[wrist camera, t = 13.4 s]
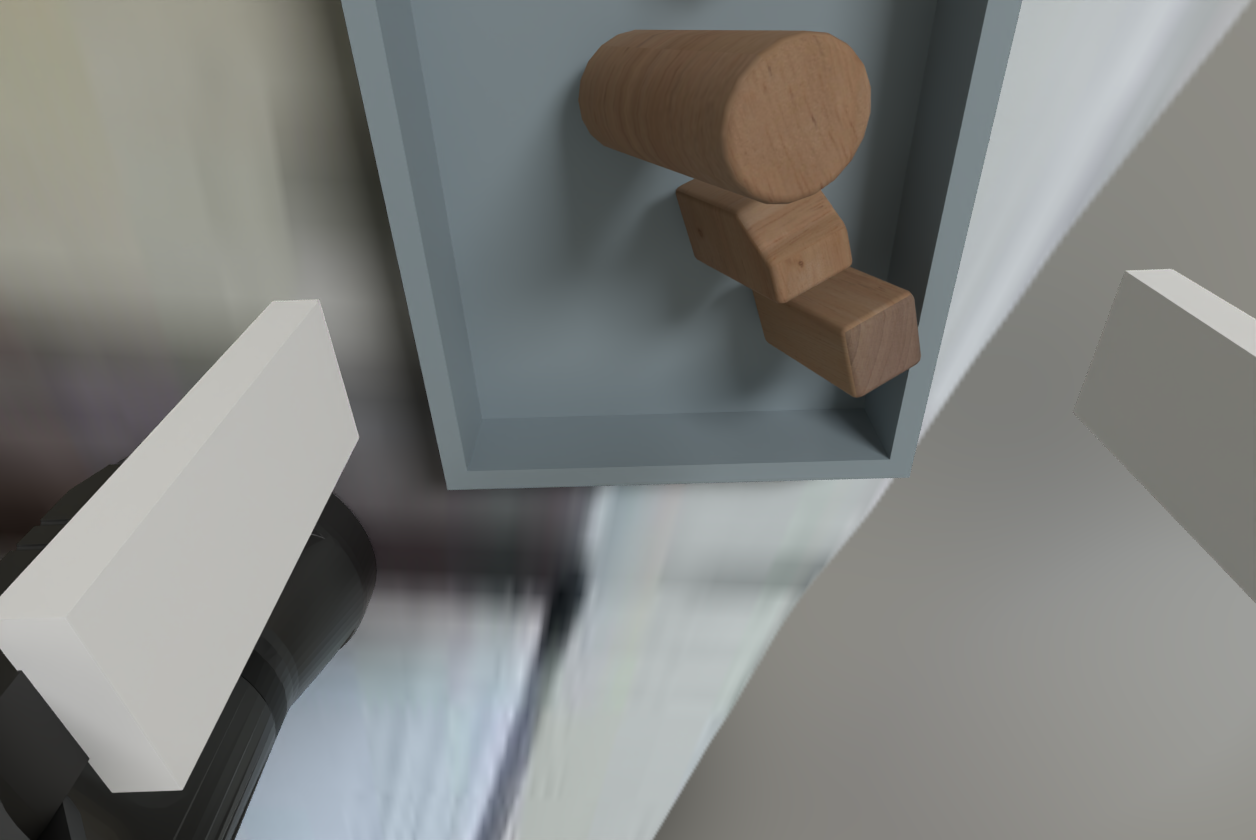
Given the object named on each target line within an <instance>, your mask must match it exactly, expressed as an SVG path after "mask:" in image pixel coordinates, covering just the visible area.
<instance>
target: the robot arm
mask: <svg viewBox="0 0 1256 840" xmlns="http://www.w3.org/2000/svg"><path fill="white" fill-rule="evenodd" d="M1073 413H1074V414H1075V415H1076V416H1077V417H1078V418H1079V420H1081V422H1082V423H1083V424H1084V425H1085V426H1086V427H1087V428H1088V429H1089V430H1090V431H1091V432H1092V433H1093V434H1094V435H1095V436H1096V437H1097V438H1098V439H1099V440H1100V441H1101V442H1102V443H1103V445H1104V446H1105V447H1106V448H1107V449H1108V450H1109V451H1110V452H1111V453H1112V454H1113V455H1114V456H1115V457H1116V458H1117V459H1118V460H1119V461H1120V462H1121V463H1122V464H1123V465H1124V466H1125V467H1126V468H1127V470H1128V471H1129V472H1130V473H1131V474H1132V475H1133V476H1134V477H1135V478H1136V479H1137V480H1138V481H1139V482H1140V483H1141V484H1142V485H1143V486H1144V487H1145V488H1146V489H1147V490H1148V491H1149V492H1150V493H1151V494H1152V495H1153V497H1154V498H1155V499H1156V500H1157V501H1158V502H1159V503H1160V504H1161V505H1162V506H1163V507H1164V508H1165V509H1166V510H1167V511H1168V512H1169V513H1170V514H1171V515H1172V516H1173V517H1174V518H1175V519H1176V521H1177V522H1178V523H1179V524H1180V525H1181V526H1182V527H1183V528H1184V529H1185V530H1186V531H1187V532H1188V533H1189V534H1190V535H1191V536H1192V537H1193V538H1194V539H1195V540H1196V541H1197V542H1198V543H1199V545H1200V546H1201V547H1202V548H1203V549H1204V550H1205V551H1206V552H1207V553H1208V554H1209V555H1210V556H1211V557H1212V558H1213V559H1214V560H1215V561H1216V562H1217V563H1218V564H1219V565H1220V566H1221V567H1222V568H1223V569H1224V571H1225V572H1226V573H1227V574H1228V575H1229V576H1230V577H1231V578H1232V579H1233V580H1234V581H1235V582H1236V583H1237V584H1238V585H1239V586H1240V587H1241V588H1242V589H1243V590H1244V591H1245V592H1246V593H1247V594H1248V596H1249V597H1251V599H1252V600H1253V601H1254V602H1255V603H1256V319H1255V318H1253V317H1251V316H1250V315H1248V314H1246V313H1244V312H1243V311H1241V310H1240V309H1238V308H1236V307H1235V306H1233V305H1231V304H1230V303H1228V302H1226V301H1225V300H1223V299H1221V298H1220V297H1218V296H1216V295H1215V294H1213V293H1211V292H1210V291H1208V290H1206V289H1205V288H1203V287H1201V286H1200V285H1198V284H1196V283H1195V282H1193V281H1191V280H1190V279H1188V278H1186V277H1184V276H1183V275H1181V274H1179V273H1178V272H1176V271H1175V270H1173V269H1159V270H1131V271H1125V272H1124V275H1123V278H1122V280H1121V283H1120V286H1119V289H1118V291H1117V294H1116V296H1115V299H1114V302H1113V305H1112V307H1111V310H1110V313H1109V315H1108V318H1107V321H1106V324H1105V326H1104V329H1103V332H1102V334H1101V337H1100V340H1099V343H1098V345H1097V348H1096V351H1095V353H1094V356H1093V359H1092V361H1091V364H1090V367H1089V370H1088V372H1087V375H1086V378H1085V381H1084V383H1083V386H1082V389H1081V391H1080V394H1079V397H1078V399H1077V402H1076V405H1075V408H1074V410H1073ZM358 439H359V435H358V431H357V428H356V425H355V421H354V418H353V414H352V411H351V407H350V404H349V400H348V397H347V393H346V390H345V386H344V383H343V379H342V376H341V372H340V369H339V366H338V362H337V359H336V355H335V352H334V348H333V345H332V341H331V338H330V334H329V331H328V327H327V324H326V320H325V317H324V314H323V310H322V307H321V303H320V300H319V299H315V300H287V301H272V302H271V303H270V304H269V305H268V306H267V308H266V309H265V310H264V311H263V312H262V313H261V314H260V315H259V316H258V317H257V318H256V319H255V321H254V322H253V323H252V324H251V325H250V326H249V327H248V328H247V329H246V330H245V331H244V332H243V334H242V335H241V336H240V337H239V338H238V339H237V340H236V341H235V342H234V343H233V344H232V345H231V347H230V348H229V349H228V350H227V351H226V352H225V353H224V354H223V355H222V356H221V357H220V358H219V360H218V361H217V362H216V363H215V364H214V365H213V366H212V367H211V368H210V369H209V370H208V372H207V373H206V374H205V375H204V376H203V377H202V378H201V379H200V380H199V381H198V382H197V383H196V385H195V386H194V387H193V388H192V389H191V390H190V391H189V392H188V393H187V394H186V395H185V396H184V398H183V399H182V400H181V401H180V402H179V403H178V404H177V405H176V406H175V407H174V408H173V409H172V411H171V412H170V413H169V414H168V415H167V416H166V417H165V418H164V419H163V420H162V421H161V422H160V424H159V425H158V426H157V427H156V428H155V429H154V430H153V431H152V432H151V433H150V434H149V435H148V437H147V438H146V439H145V440H144V441H143V442H142V443H141V444H140V445H139V446H138V447H137V449H136V450H135V451H134V452H133V453H132V454H131V455H130V456H128V457H126V458H125V459H123V460H121V461H120V462H118V463H117V464H115V465H108V466H107V467H105V468H104V469H102V470H100V471H99V472H97V473H96V474H94V475H93V476H91V477H89V478H88V479H86V480H85V481H83V482H82V483H80V484H79V485H77V486H75V487H74V488H72V489H71V490H69V491H68V492H67V493H66V494H65V495H64V496H63V497H62V498H61V499H60V500H59V501H58V502H57V503H56V504H55V506H54V507H53V508H52V509H51V510H50V511H49V512H48V513H47V514H46V515H45V516H44V517H43V518H42V519H41V520H40V521H41V525H40V526H34V527H33V528H32V529H31V530H30V531H29V532H28V533H27V534H26V535H25V536H24V537H23V538H22V539H21V540H20V541H19V542H18V544H17V545H16V546H17V550H16V551H10V552H9V553H8V554H7V555H6V556H5V557H4V558H3V559H2V560H1V561H0V840H235V838H236V835H237V833H238V830H239V828H240V826H241V823H242V821H243V818H244V816H245V813H246V811H247V808H248V806H249V803H250V801H251V799H252V796H253V794H254V791H255V789H256V786H257V784H258V781H259V779H260V777H261V774H262V772H263V769H264V767H265V764H266V762H267V759H268V757H269V754H270V752H271V750H272V747H273V744H274V742H275V739H276V737H277V735H278V732H279V730H280V728H281V725H282V723H283V721H284V719H285V716H286V714H287V712H288V710H289V708H290V707H291V705H292V704H293V703H294V702H295V701H296V700H297V699H298V697H299V696H300V695H301V694H302V693H303V692H304V691H305V689H306V688H307V687H308V686H309V685H310V684H311V683H312V681H313V680H314V679H315V678H316V677H317V676H318V674H319V673H320V672H321V671H322V670H323V668H324V667H325V666H326V665H327V664H328V662H329V661H330V660H331V659H332V657H333V656H334V655H335V654H336V653H337V651H338V650H339V649H340V648H342V647H343V646H344V645H345V644H346V643H347V642H348V641H349V640H350V639H351V637H352V636H353V635H354V633H355V632H356V630H357V628H358V627H359V625H360V623H361V621H362V619H363V616H364V614H365V611H366V608H367V606H368V603H369V601H370V598H371V595H372V593H373V590H374V586H375V581H376V561H375V556H374V552H373V549H372V546H371V543H370V541H369V539H368V536H367V534H366V533H365V531H364V529H363V527H362V526H361V524H360V523H359V521H358V520H357V519H356V517H355V516H354V515H353V514H352V512H351V511H350V510H349V509H348V508H347V507H346V506H345V505H344V504H343V503H342V502H341V501H340V500H339V499H338V498H337V497H336V496H335V495H334V494H332V491H333V489H334V487H335V485H336V483H337V481H338V479H339V477H340V475H341V473H342V471H343V469H344V467H345V465H346V463H347V461H348V459H349V457H350V455H351V453H352V451H353V449H354V447H355V445H356V443H357V441H358Z"/></svg>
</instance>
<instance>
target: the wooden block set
mask: <svg viewBox="0 0 1256 840" xmlns="http://www.w3.org/2000/svg"><path fill="white" fill-rule="evenodd" d="M578 102H579V107H580V112H581V117H582V120H583V122H584V124H585V125H586V127H587V129H588V131H589V133H590V134H591V135H592V136H593V137H594V138H595V139H596V140H597V141H599V142H600V143H601V144H602V145H603V146H606V147H608V148H611V149H614V150H616V151H619V152H622V153H625V154H627V155H630V156H633V157H636V158H638V159H641V160H644V161H647V162H650V163H652V164H655V165H658V166H661V167H664V168H666V169H669V170H672V171H675V172H678V173H680V174H683V175H686V176H689V177H691V178H694V179H693V180H691V181H689V182H687V183H685V184H683V185H681V186H679V187H678V188H677V189H676V197H677V200H678V204H679V207H680V210H681V214H682V217H683V220H684V223H685V227H686V230H687V233H688V236H689V240H690V243H691V246H692V249H693V253H694V256H695V257H696V259H697V260H699V261H701V262H702V263H704V264H706V265H708V266H710V267H712V268H713V269H715V270H717V271H719V272H721V273H723V274H724V275H726V276H728V277H730V278H732V279H734V280H735V281H737V282H739V283H741V284H743V285H745V286H746V287H748V288H750V289H752V291H753V295H754V299H755V303H756V307H757V310H758V314H759V318H760V322H761V326H762V329H763V333H764V337H765V340H766V341H767V342H768V343H769V344H771V345H772V346H774V347H775V348H777V349H779V350H780V351H782V352H783V353H785V354H786V355H788V356H790V357H791V358H793V359H794V360H796V361H797V362H799V363H801V364H802V365H804V366H805V367H807V368H808V369H810V370H812V371H813V372H815V373H816V374H818V375H819V376H821V377H823V378H824V379H826V380H827V381H829V382H830V383H832V384H834V385H835V386H837V387H838V388H840V389H841V390H843V391H844V392H846V393H848V394H849V395H851V396H852V397H856V398H858V397H862V396H864V395H866V394H867V393H869V392H871V391H872V390H874V389H876V388H877V387H879V386H881V385H882V384H884V383H886V382H888V381H889V380H891V379H893V378H894V377H896V376H898V375H899V374H901V373H903V372H904V371H906V370H908V369H910V368H911V367H913V366H915V365H916V364H917V363H918V362H919V361H920V358H921V351H920V343H919V334H918V326H917V317H916V309H915V300H914V297H913V295H912V294H911V293H910V292H909V291H908V290H905V289H903V288H900V287H898V286H895V285H893V284H891V283H888V282H886V281H883V280H881V279H879V278H876V277H874V276H871V275H869V274H867V273H864V272H862V271H859V270H857V269H854V268H852V267H850V266H851V265H852V256H851V250H850V244H849V238H848V232H847V229H846V226H845V224H844V222H843V221H842V219H841V218H840V217H839V215H838V214H837V212H836V211H835V209H834V208H833V207H832V205H831V204H830V202H829V201H828V199H827V198H826V197H825V195H824V194H823V192H822V191H821V189H823V188H824V187H826V186H827V185H828V184H830V183H831V182H833V181H834V180H835V179H836V178H837V177H838V176H839V174H840V173H841V172H842V171H843V170H844V169H845V167H846V166H847V165H848V164H849V163H850V162H851V160H852V159H853V157H854V155H855V153H856V151H857V149H858V147H859V145H860V144H861V142H862V140H863V138H864V135H865V131H866V127H867V124H868V120H869V116H870V112H871V86H870V83H869V79H868V76H867V73H866V69H865V66H864V64H863V63H862V61H861V60H860V59H859V57H858V56H857V55H856V53H855V52H854V51H853V49H852V48H851V47H850V46H849V45H848V44H847V43H845V42H844V41H842V40H840V39H838V38H836V37H835V36H833V35H831V34H829V33H826V32H815V31H789V30H632V31H629V32H625V33H621V34H618V35H616V36H615V37H613V38H612V39H610V40H609V41H607V42H606V43H604V44H603V45H601V46H600V48H599V49H598V50H597V51H596V52H595V54H594V55H593V56H592V57H591V59H590V60H589V61H588V63H587V66H586V68H585V70H584V73H583V75H582V78H581V80H580V89H579V98H578Z"/></svg>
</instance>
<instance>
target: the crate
mask: <svg viewBox="0 0 1256 840" xmlns="http://www.w3.org/2000/svg"><path fill="white" fill-rule="evenodd" d="M341 3H342V8H343V12H344V17H345V21H346V26H347V31H348V35H349V40H350V44H351V49H352V53H353V58H354V63H355V67H356V72H357V76H358V81H359V86H360V90H361V95H362V99H363V104H364V109H365V113H366V118H367V122H368V127H369V132H370V136H371V141H372V145H373V150H374V154H375V159H376V164H377V168H378V173H379V177H380V182H381V187H382V191H383V196H384V200H385V205H386V210H387V214H388V219H389V223H390V228H391V232H392V237H393V242H394V246H395V251H396V255H397V260H398V265H399V269H400V274H401V278H402V283H403V288H404V292H405V297H406V301H407V306H408V310H409V315H410V320H411V324H412V329H413V333H414V338H415V343H416V347H417V352H418V356H419V361H420V366H421V370H422V375H423V379H424V384H425V388H426V393H427V398H428V402H429V407H430V411H431V416H432V421H433V425H434V430H435V434H436V439H437V444H438V448H439V453H440V457H441V462H442V466H443V471H444V476H445V480H446V485H447V489H448V490H468V489H504V488H541V487H577V486H614V485H650V484H687V483H724V482H760V481H797V480H833V479H870V478H905V477H909V476H910V472H911V467H912V463H913V459H914V455H915V451H916V447H917V442H918V438H919V434H920V430H921V426H922V421H923V417H924V413H925V409H926V404H927V400H928V396H929V392H930V388H931V383H932V379H933V375H934V371H935V366H936V362H937V358H938V354H939V350H940V345H941V341H942V337H943V333H944V328H945V324H946V320H947V316H948V312H949V307H950V303H951V299H952V295H953V290H954V286H955V282H956V278H957V274H958V269H959V265H960V261H961V257H962V252H963V248H964V244H965V240H966V236H967V231H968V227H969V223H970V219H971V214H972V210H973V206H974V202H975V198H976V193H977V189H978V185H979V181H980V176H981V172H982V168H983V164H984V160H985V155H986V151H987V147H988V143H989V138H990V134H991V130H992V126H993V122H994V117H995V113H996V109H997V105H998V100H999V96H1000V92H1001V88H1002V84H1003V79H1004V75H1005V71H1006V67H1007V62H1008V58H1009V54H1010V50H1011V46H1012V41H1013V37H1014V33H1015V29H1016V24H1017V20H1018V16H1019V12H1020V8H1021V3H1022V0H341ZM632 30H789V31H815V32H826V33H829V34H831V35H833V36H835V37H836V38H838V39H840V40H842V41H844V42H845V43H847V44H848V45H849V46H850V47H851V48H852V49H853V51H854V52H855V53H856V55H857V56H858V57H859V59H860V60H861V61H862V63H863V64H864V66H865V69H866V73H867V76H868V79H869V83H870V86H871V112H870V116H869V120H868V124H867V127H866V131H865V135H864V138H863V140H862V142H861V144H860V145H859V147H858V149H857V151H856V153H855V155H854V157H853V159H852V160H851V162H850V163H849V164H848V165H847V166H846V167H845V169H844V170H843V171H842V172H841V173H840V174H839V176H838V177H837V178H836V179H835V180H834V181H833V182H831V183H830V184H828V185H827V186H826V187H824V188H823V189H821V191H822V192H823V194H824V195H825V197H826V198H827V199H828V201H829V202H830V204H831V205H832V207H833V208H834V209H835V211H836V212H837V214H838V215H839V217H840V218H841V219H842V221H843V222H844V224H845V226H846V229H847V232H848V238H849V244H850V250H851V256H852V265H851V266H850V267H852V268H854V269H857V270H859V271H862V272H864V273H867V274H869V275H871V276H874V277H876V278H879V279H881V280H883V281H886V282H888V283H891V284H893V285H895V286H898V287H900V288H903V289H905V290H908V291H909V292H910V293H911V294H912V295H913V297H914V300H915V309H916V317H917V326H918V334H919V343H920V351H921V358H920V361H919V362H918V363H917V364H916V365H915V366H913V367H911V368H910V369H908V370H906V371H904V372H903V373H901V374H899V375H898V376H896V377H894V378H893V379H891V380H889V381H888V382H886V383H884V384H882V385H881V386H879V387H877V388H876V389H874V390H872V391H871V392H869V393H867V394H866V395H864V396H862V397H858V398H856V397H852V396H851V395H849V394H848V393H846V392H844V391H843V390H841V389H840V388H838V387H837V386H835V385H834V384H832V383H830V382H829V381H827V380H826V379H824V378H823V377H821V376H819V375H818V374H816V373H815V372H813V371H812V370H810V369H808V368H807V367H805V366H804V365H802V364H801V363H799V362H797V361H796V360H794V359H793V358H791V357H790V356H788V355H786V354H785V353H783V352H782V351H780V350H779V349H777V348H775V347H774V346H772V345H771V344H769V343H768V342H767V341H766V340H765V337H764V333H763V329H762V326H761V322H760V318H759V314H758V310H757V307H756V303H755V299H754V295H753V291H752V289H750V288H748V287H746V286H745V285H743V284H741V283H739V282H737V281H735V280H734V279H732V278H730V277H728V276H726V275H724V274H723V273H721V272H719V271H717V270H715V269H713V268H712V267H710V266H708V265H706V264H704V263H702V262H701V261H699V260H697V259H696V257H695V256H694V253H693V249H692V246H691V243H690V240H689V236H688V233H687V230H686V227H685V223H684V220H683V217H682V214H681V210H680V207H679V204H678V200H677V197H676V189H677V188H678V187H679V186H681V185H683V184H685V183H687V182H689V181H691V180H693V179H694V178H691V177H689V176H686V175H683V174H680V173H678V172H675V171H672V170H669V169H666V168H664V167H661V166H658V165H655V164H652V163H650V162H647V161H644V160H641V159H638V158H636V157H633V156H630V155H627V154H625V153H622V152H619V151H616V150H614V149H611V148H608V147H606V146H603V145H602V144H601V143H600V142H599V141H597V140H596V139H595V138H594V137H593V136H592V135H591V134H590V133H589V131H588V129H587V127H586V125H585V124H584V122H583V120H582V117H581V112H580V107H579V102H578V98H579V89H580V80H581V78H582V75H583V73H584V70H585V68H586V66H587V63H588V61H589V60H590V59H591V57H592V56H593V55H594V54H595V52H596V51H597V50H598V49H599V48H600V46H601V45H603V44H604V43H606V42H607V41H609V40H610V39H612V38H613V37H615V36H616V35H618V34H621V33H625V32H629V31H632Z"/></svg>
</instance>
